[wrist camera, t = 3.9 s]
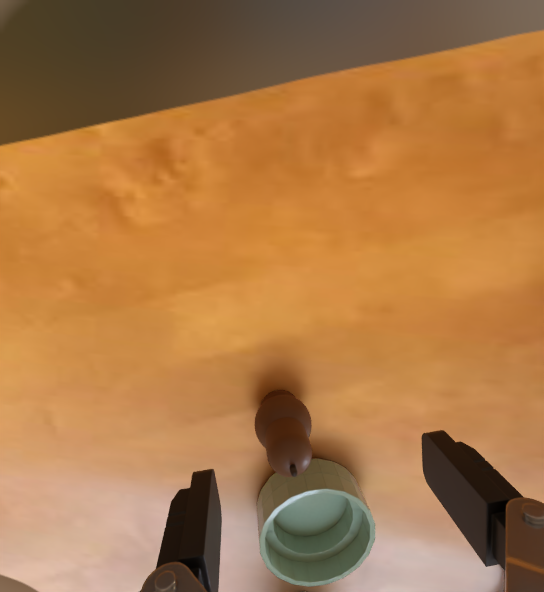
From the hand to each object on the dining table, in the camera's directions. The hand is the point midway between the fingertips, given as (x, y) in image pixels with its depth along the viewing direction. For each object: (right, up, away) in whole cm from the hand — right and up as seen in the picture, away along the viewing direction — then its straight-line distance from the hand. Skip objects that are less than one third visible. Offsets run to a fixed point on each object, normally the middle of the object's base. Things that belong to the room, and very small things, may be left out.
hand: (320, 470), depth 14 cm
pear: (-1, -6, +28) cm, 29 cm away
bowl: (+3, -19, +31) cm, 37 cm away
